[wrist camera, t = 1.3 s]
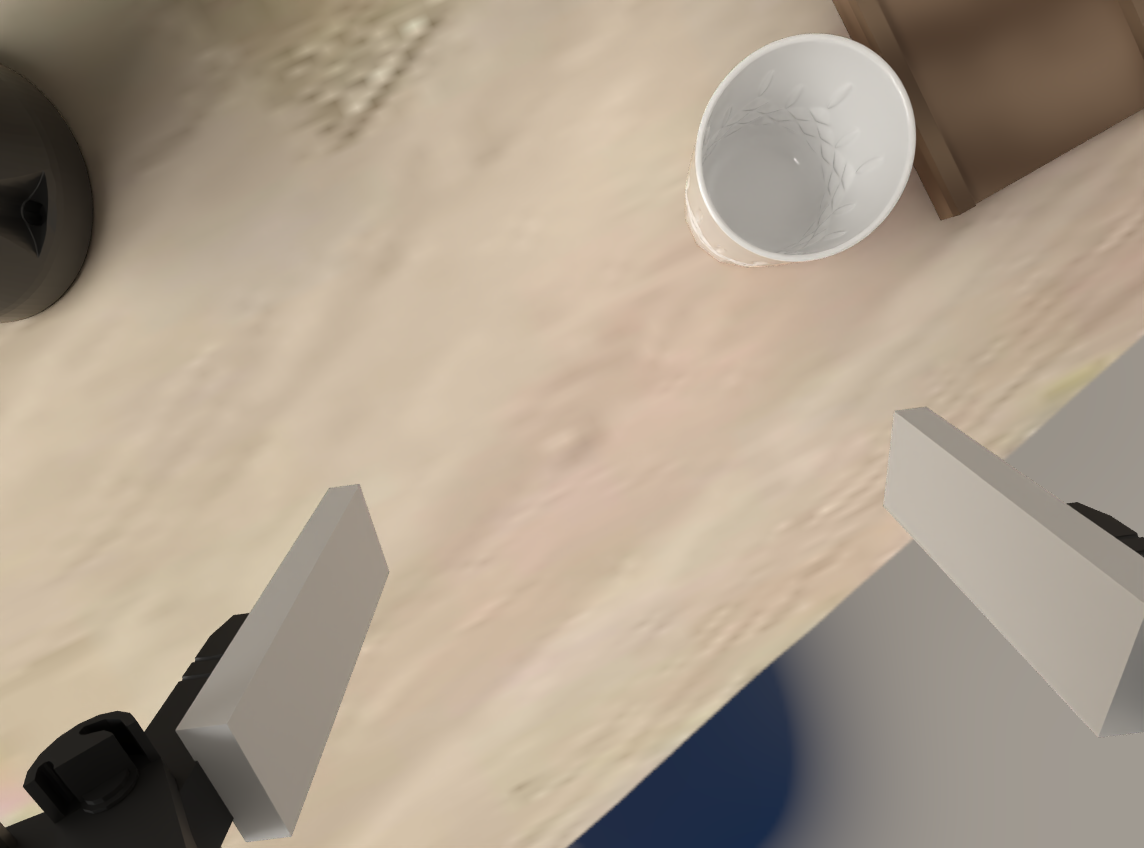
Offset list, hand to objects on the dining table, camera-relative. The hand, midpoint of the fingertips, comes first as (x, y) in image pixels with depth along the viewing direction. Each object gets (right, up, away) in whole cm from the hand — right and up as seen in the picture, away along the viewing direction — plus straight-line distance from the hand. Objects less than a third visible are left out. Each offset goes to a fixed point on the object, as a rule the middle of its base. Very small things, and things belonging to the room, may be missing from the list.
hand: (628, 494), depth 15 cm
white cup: (+8, +14, +17) cm, 23 cm away
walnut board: (+19, +22, +14) cm, 32 cm away
